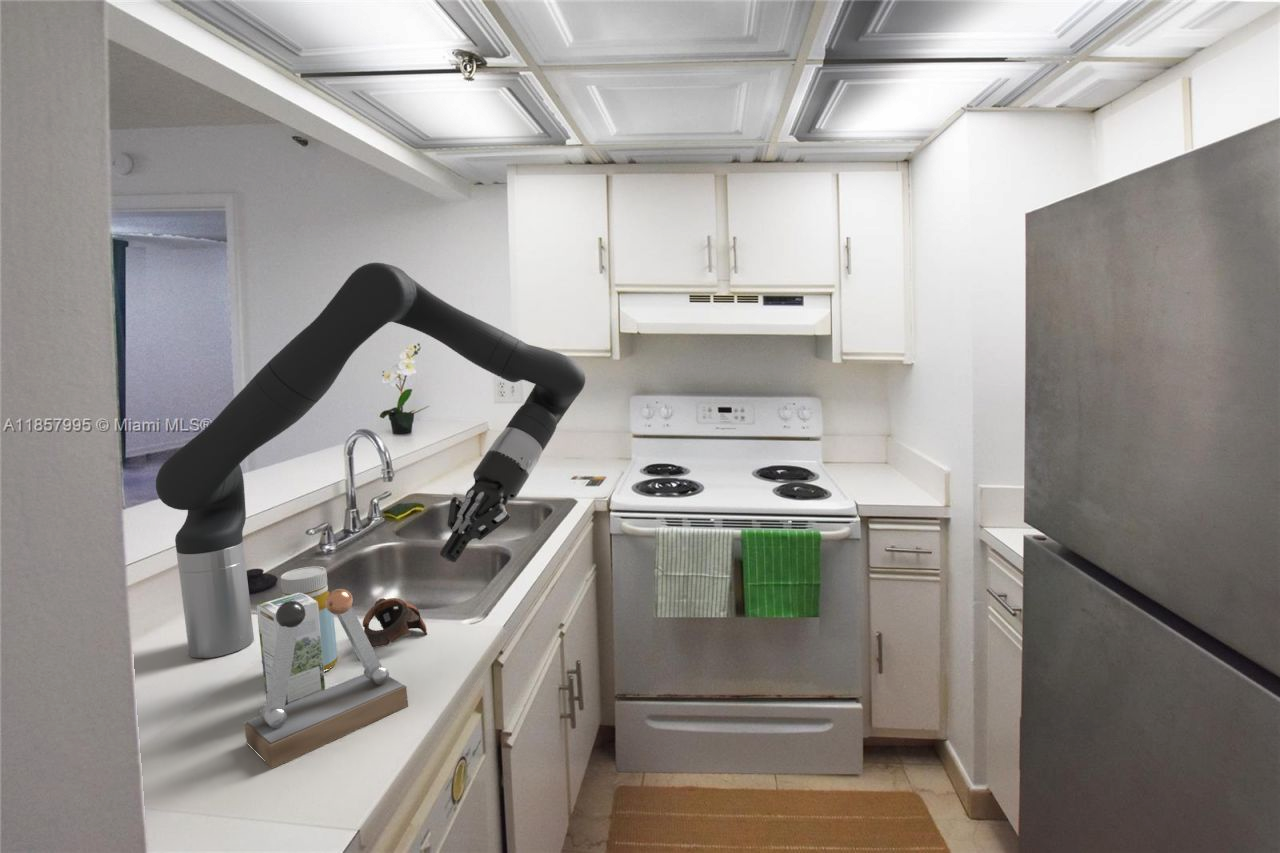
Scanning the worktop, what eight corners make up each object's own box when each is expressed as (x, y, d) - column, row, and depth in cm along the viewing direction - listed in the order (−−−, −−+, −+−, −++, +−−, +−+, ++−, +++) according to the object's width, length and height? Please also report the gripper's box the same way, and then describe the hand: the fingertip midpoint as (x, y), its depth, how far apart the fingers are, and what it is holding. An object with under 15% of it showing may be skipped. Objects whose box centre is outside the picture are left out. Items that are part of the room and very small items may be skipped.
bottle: (285, 683, 97) (274, 583, 96) (289, 664, 104) (279, 570, 102) (337, 672, 100) (328, 575, 98) (338, 654, 106) (329, 562, 105)
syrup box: (308, 688, 96) (298, 590, 94) (328, 700, 92) (317, 598, 90) (265, 705, 91) (254, 603, 90) (284, 719, 87) (273, 612, 86)
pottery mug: (441, 640, 111) (422, 608, 107) (391, 680, 107) (369, 649, 102) (408, 605, 119) (389, 575, 115) (360, 642, 115) (338, 611, 110)
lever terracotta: (363, 684, 90) (317, 596, 85) (383, 668, 92) (339, 581, 87) (374, 691, 88) (328, 601, 83) (395, 674, 90) (351, 586, 85)
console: (246, 744, 82) (244, 721, 82) (378, 688, 95) (376, 668, 94) (272, 768, 77) (269, 744, 76) (408, 706, 89) (406, 685, 89)
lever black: (252, 721, 80) (274, 598, 81) (280, 717, 82) (301, 597, 84) (262, 731, 78) (284, 604, 79) (291, 725, 80) (311, 603, 82)
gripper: (468, 446, 107) (405, 538, 99) (520, 451, 98) (455, 553, 91) (498, 473, 112) (439, 564, 104) (550, 480, 103) (490, 580, 95)
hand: (446, 558), depth 97 cm, fingers closed
